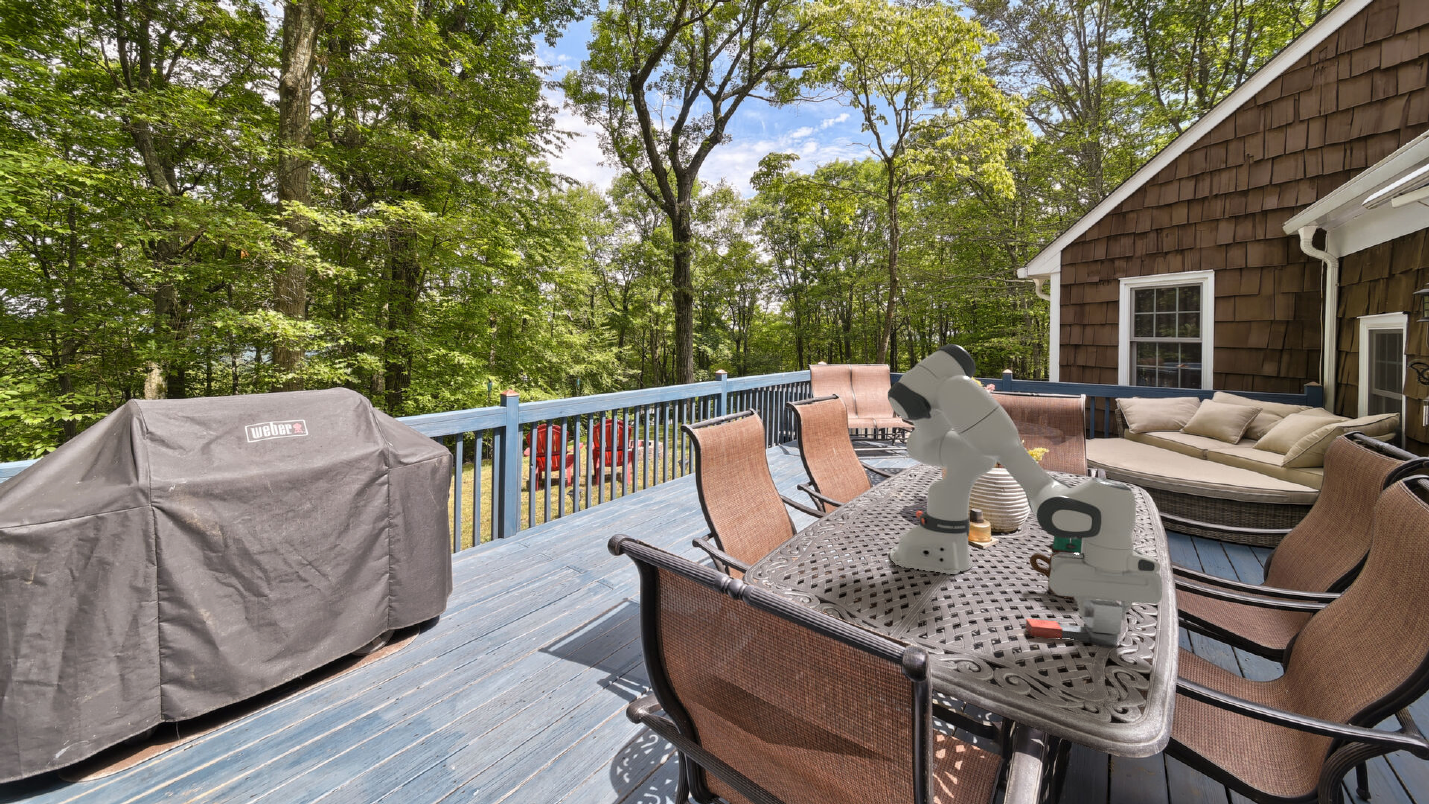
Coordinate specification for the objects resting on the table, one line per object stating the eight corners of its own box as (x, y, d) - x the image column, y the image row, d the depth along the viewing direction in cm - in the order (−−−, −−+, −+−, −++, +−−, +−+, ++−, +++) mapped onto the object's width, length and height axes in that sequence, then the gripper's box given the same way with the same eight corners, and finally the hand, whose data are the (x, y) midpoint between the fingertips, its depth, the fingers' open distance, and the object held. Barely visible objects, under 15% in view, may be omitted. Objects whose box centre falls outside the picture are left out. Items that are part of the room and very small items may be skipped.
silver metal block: (1092, 631, 114) (1094, 604, 114) (1081, 619, 119) (1083, 593, 119) (1120, 634, 113) (1122, 607, 113) (1108, 622, 118) (1110, 596, 118)
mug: (1026, 590, 140) (1029, 555, 139) (1029, 580, 147) (1031, 546, 146) (1082, 603, 133) (1085, 566, 133) (1083, 591, 140) (1085, 556, 139)
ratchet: (1033, 639, 117) (1034, 615, 116) (1023, 625, 122) (1025, 602, 122) (1122, 649, 113) (1124, 624, 113) (1108, 634, 119) (1110, 610, 118)
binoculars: (1081, 525, 162) (1090, 533, 152) (1080, 561, 162) (1089, 570, 152) (1047, 522, 165) (1054, 529, 156) (1045, 556, 165) (1052, 565, 156)
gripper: (1057, 556, 114) (1053, 619, 115) (1169, 565, 110) (1163, 630, 111) (1046, 546, 120) (1042, 605, 121) (1151, 553, 116) (1146, 615, 117)
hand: (1101, 617), depth 116 cm, fingers closed on silver metal block, 5 cm apart
